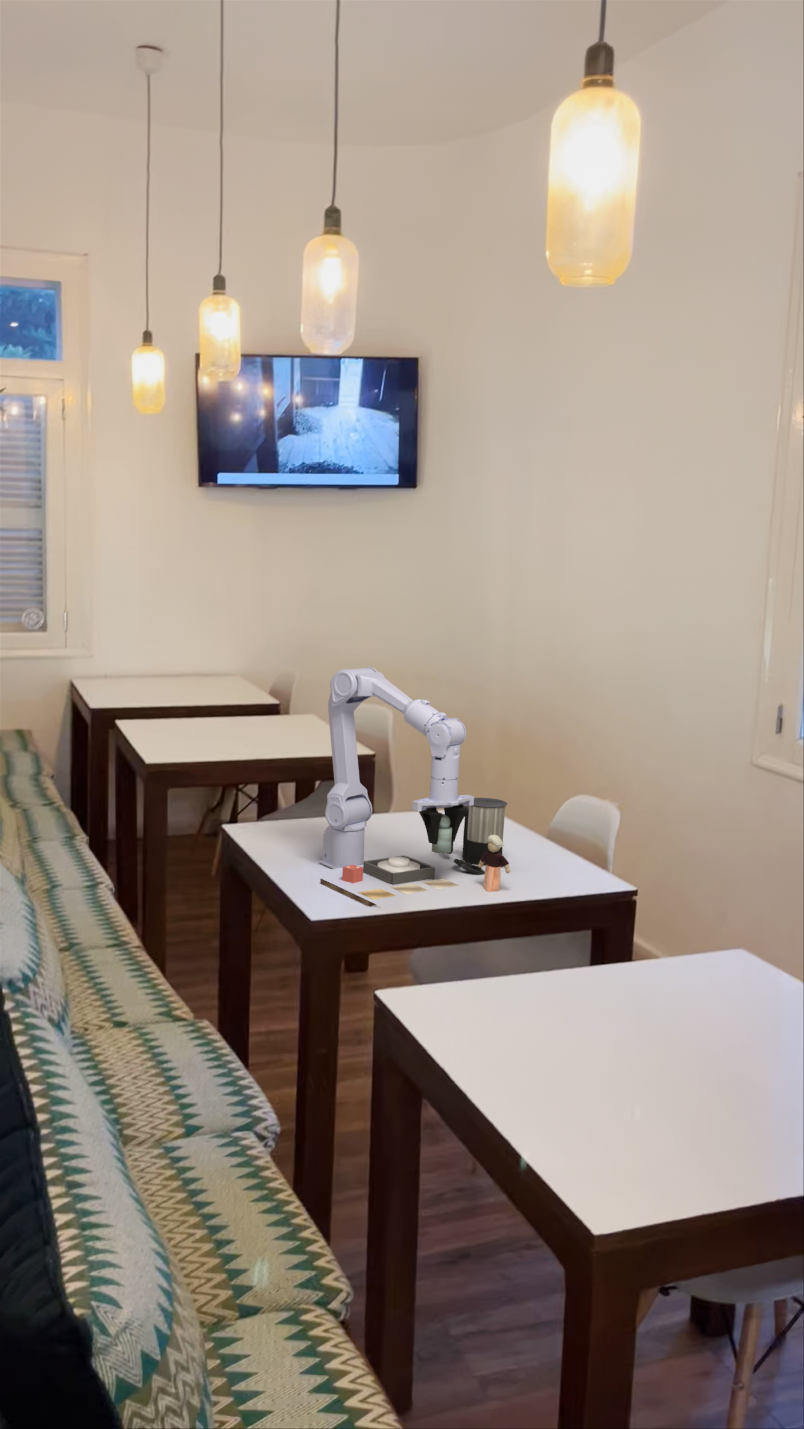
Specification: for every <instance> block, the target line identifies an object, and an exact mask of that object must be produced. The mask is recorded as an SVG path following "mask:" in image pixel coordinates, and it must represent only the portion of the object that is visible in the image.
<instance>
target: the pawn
mask: <svg viewBox="0 0 804 1429" xmlns="http://www.w3.org/2000/svg"><path fill="white" fill-rule="evenodd" d="M442 814H443V815H442V818H441V821H440V825H439V833H438V842H437V844H432V843H431V852H433V853H435V854H443V855H444V854H446V855H447V853H450V852H451V841H452V827H450V818H449V817H448V816H447V815H445V813H442Z"/></svg>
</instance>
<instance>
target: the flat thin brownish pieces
mask: <svg viewBox="0 0 804 1429" xmlns="http://www.w3.org/2000/svg"><path fill="white" fill-rule="evenodd" d="M421 883H422V884H423V885H427V886H429V887H432V888H434V889H437V890H440V889H445V888H446V889H447V888H454V887H458V886H460V884H457V883H454V882H452V881H449V880H447V879H445V878H439V879H430V880H424V881H421ZM320 884H321V885H323V886H325V887H327V888H329V889H331V890H333V891H335V892H336V893H339V894H341V895H344V896H345V897H347V898H350V899H352V900H354V901H356V902H358V903H360V904H363V905H364V906H367V907H372V906H377V904H376V903H375V902H373V901H370V900H367V899H365V898H363V897H362V896H364V897H366V898H368V899H371V900H379V899H385V898H393V897H396V896H397V895H396V894H393V893H391V892H389V891H387V890H385V889H382V888H376V889H370V890H369V889H368V890H364V891H363V890H362V891H358V892H357V893H358V894H360V895H362V896H359V895H357V894H355V893H353V892H351V891H349V890H346V889H345V888H342V887H341V886H338V885H337V884H336V885H335V884H333V883H331V882H329V881H327V880H325V879H323V878H320ZM390 889H393V890H395V891H398V892H400V893H402V894H405V895H408V894H409V895H410V894H416V893H423V892H427V891H429V889H426V888H425V887H421V886H419V885H417V884H415V883H405V884H399V885H392V886H390Z"/></svg>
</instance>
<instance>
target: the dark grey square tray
mask: <svg viewBox="0 0 804 1429" xmlns="http://www.w3.org/2000/svg"><path fill="white" fill-rule="evenodd" d="M396 857H404V858H408V859H409V861H413V862H416V863H418V864H419V865H420V869H417V870H410V871H403V872H396V873H392V872H389V871H387V870H385V869H382V868H380V867H378V863H379V862H381V861H385V860H389V858H391V856H390V857H383V858H378V859H377V858H376V859H370V860H364V861H363V865H362V867H363V874H365V875H367V876H371V877H373V878H374V879H377V880H378V881H380V882H384V883H386V884H389V885H392V886H397V885H403V884H410V883H414V882H419V881H421V882H423V881H429V880H435V871H436V870H435V866H433V865H430V864H427V863H426V862H424V861H420V860H417V859H415V858H414V857H413V858H412V857H410V856H408V855H398V856H397V855H396Z"/></svg>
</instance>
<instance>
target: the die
mask: <svg viewBox="0 0 804 1429" xmlns="http://www.w3.org/2000/svg"><path fill="white" fill-rule="evenodd" d="M363 880H364V872H363V866H361V865H358V866H356V865H349V866H345V867H343V868H342V876H341V881H342V882H343V881H344V882H348V883H350V884H356V883H359V882H363Z"/></svg>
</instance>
